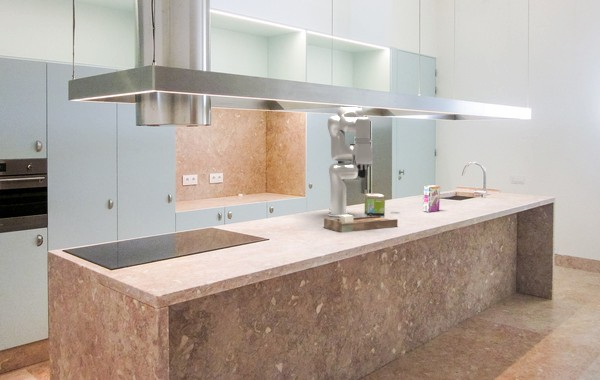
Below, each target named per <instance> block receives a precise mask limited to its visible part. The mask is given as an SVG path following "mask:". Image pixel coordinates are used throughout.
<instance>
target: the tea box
mask: <svg viewBox="0 0 600 380" xmlns="http://www.w3.org/2000/svg"><path fill="white" fill-rule="evenodd" d="M385 206H386V196H385V195H384V194H382V193H364V217H371V216H381V218H385V219H386V217H385V213H386V212H385V211H386V210H385V209H386V208H385Z"/></svg>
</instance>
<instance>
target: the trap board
mask: <svg viewBox="0 0 600 380" xmlns="http://www.w3.org/2000/svg"><path fill="white" fill-rule="evenodd" d="M323 228H324V229H328V230H331V231H334V232H338V233H345V232H346V233H347V232H358V231H369V230H376V229H378V228H379V229H387V228H389V229H390V228H398V219H395V218H394V219H389V218H386V217H385V218H381V216H371V217H365V216H362V217H361V216H360V217H353V223H348V224H342V222H340V218H337V219H335V218H334V219H333V218H332V219H331V218H327V217H324V218H323Z"/></svg>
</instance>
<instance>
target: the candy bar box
mask: <svg viewBox="0 0 600 380" xmlns="http://www.w3.org/2000/svg"><path fill="white" fill-rule="evenodd" d="M440 190H441V186H440V185H424V186H423V199H422V201H423V203H422V207H423V208H422V212H424V213H434V212H439V211H440V201H441V199H440V196H441V191H440Z"/></svg>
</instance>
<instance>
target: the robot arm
mask: <svg viewBox="0 0 600 380" xmlns="http://www.w3.org/2000/svg"><path fill="white" fill-rule="evenodd" d="M336 114H337V115H331V116H329V118H328V119H327V129H328V130H327V131H328V133H329V136H330V155H331V159H332V160H333V161H335V162H336V163H332V164H330V165H329V168H328V173H329V181H330V182H329V183H330V208H329V211H330V212H329V213H327V215H328V217H334V218H335V217H336V218H340V215H347V214H348V215H350V213H348V212H347V184H346V183H345V182H344V181H343V180H355V179H356V178H358V177H359V178H361V179H365V178H366V175H367V173H366V171H367V169H368V168H369V167H371V166H372V165H373V164H372V163H373V150H372V149H373V148H372V144H371V143H372V141H373V140H372V139H371V119H370V118H369V117H364V110H363V107H361V108H358V107H342V106H340V107H339V108H338V109H337V111H336ZM343 132H344V133H345V132H346V133H354V138H355V141H354V142H355V143H354V144H353V145H352V144H346V135H345V134H344V133H343ZM337 162H340V163H337ZM341 162H342V163H341ZM347 162H348V163H347ZM358 175H359V176H358Z"/></svg>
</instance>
